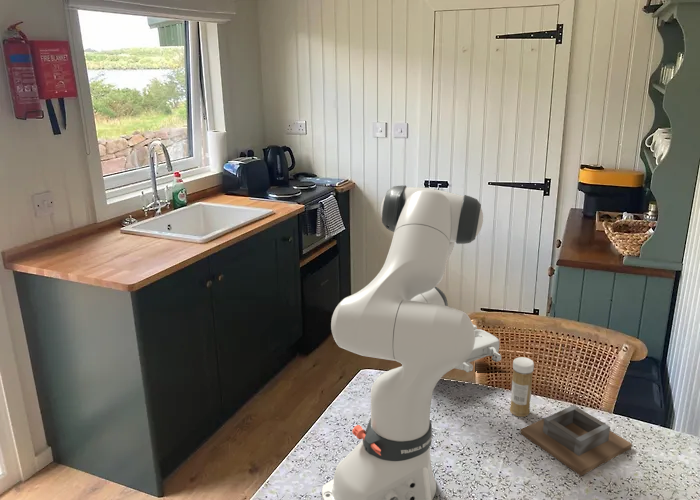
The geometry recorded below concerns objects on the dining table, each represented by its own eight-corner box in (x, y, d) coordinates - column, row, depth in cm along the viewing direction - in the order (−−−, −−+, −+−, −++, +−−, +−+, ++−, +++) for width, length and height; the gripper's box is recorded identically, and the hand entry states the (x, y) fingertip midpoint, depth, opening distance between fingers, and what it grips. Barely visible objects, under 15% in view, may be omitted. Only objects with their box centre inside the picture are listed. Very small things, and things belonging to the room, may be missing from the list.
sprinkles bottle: (533, 411, 134) (538, 361, 130) (522, 420, 131) (527, 368, 127) (515, 404, 137) (519, 354, 133) (505, 411, 134) (509, 361, 130)
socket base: (580, 476, 113) (583, 456, 112) (520, 433, 126) (521, 415, 125) (631, 448, 121) (634, 429, 120) (569, 411, 134) (571, 393, 133)
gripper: (418, 341, 147) (453, 363, 136) (477, 322, 157) (515, 342, 146) (417, 362, 149) (452, 387, 138) (476, 343, 159) (513, 364, 148)
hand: (485, 363), depth 142 cm, fingers open, 8 cm apart
